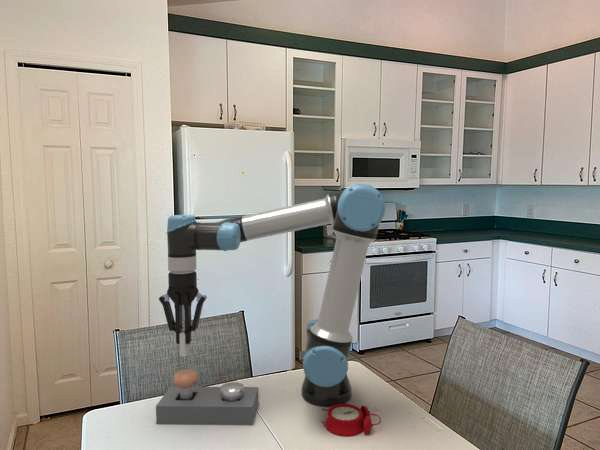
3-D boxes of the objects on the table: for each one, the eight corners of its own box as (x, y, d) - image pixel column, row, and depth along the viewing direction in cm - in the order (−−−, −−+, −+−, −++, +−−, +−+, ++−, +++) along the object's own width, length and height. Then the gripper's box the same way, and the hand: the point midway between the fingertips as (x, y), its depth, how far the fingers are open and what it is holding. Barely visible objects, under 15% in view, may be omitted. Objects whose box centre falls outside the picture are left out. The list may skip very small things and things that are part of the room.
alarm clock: (320, 403, 124) (373, 392, 123) (325, 425, 124) (379, 413, 123) (321, 423, 113) (379, 411, 113) (326, 446, 114) (384, 434, 113)
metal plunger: (245, 407, 129) (245, 382, 128) (242, 418, 122) (241, 392, 122) (223, 406, 129) (223, 382, 128) (218, 418, 123) (218, 392, 122)
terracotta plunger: (200, 394, 129) (199, 369, 128) (194, 405, 122) (193, 378, 122) (178, 394, 129) (177, 369, 129) (171, 404, 123) (170, 378, 122)
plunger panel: (258, 403, 131) (258, 387, 131) (252, 425, 119) (252, 406, 119) (171, 402, 132) (170, 386, 132) (156, 424, 120) (155, 406, 120)
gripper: (209, 269, 126) (210, 350, 128) (163, 268, 127) (165, 349, 129) (202, 274, 119) (203, 360, 121) (154, 273, 119) (156, 359, 121)
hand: (184, 354), depth 125 cm, fingers closed
